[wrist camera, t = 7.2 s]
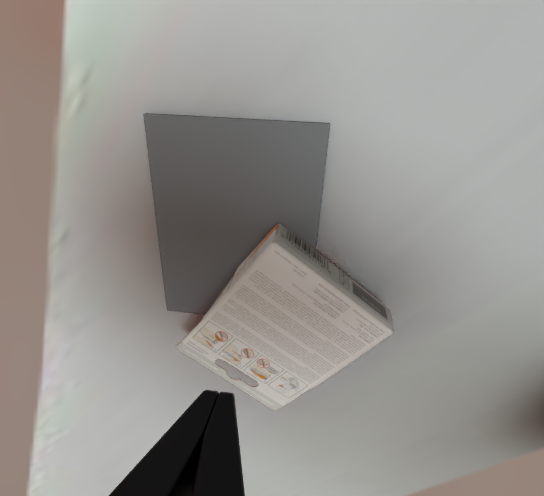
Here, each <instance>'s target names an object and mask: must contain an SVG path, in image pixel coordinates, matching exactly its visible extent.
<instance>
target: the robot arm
mask: <svg viewBox="0 0 544 496" xmlns="http://www.w3.org/2000/svg"><path fill="white" fill-rule="evenodd" d="M109 496H245V493H244V483H243V474H242V465H241V455H240V446H239V436H238V427H237V417H236V408H235V399H234V394H233V393H228V392H220V393H219V392H217V391H211V390H205V391H203V392H202V393H201V394H200V396H199V397H198V398H197V399H196V400H195V401H194V402H193V403H192V404H191V406H190V407H189V408H188V409H187V410H186V411H185V412H184V413H183V414H182V415H181V417H180V418H179V419H178V420H177V421H176V422H175V423H174V424H173V425H172V426H171V428H170V429H169V430H168V431H167V432H166V433H165V434H164V435H163V436H162V438H161V439H160V440H159V441H158V442H157V443H156V444H155V445H154V446H153V447H152V449H151V450H150V451H149V452H148V453H147V454H146V455H145V456H144V457H143V458H142V460H141V461H140V462H139V463H138V464H137V465H136V466H135V467H134V468H133V470H132V471H131V472H130V473H129V474H128V475H127V476H126V477H125V478H124V479H123V481H122V482H121V483H120V484H119V485H118V486H117V487H116V488H115V489H114V490H113V492H112V493H111V494H110V495H109Z"/></svg>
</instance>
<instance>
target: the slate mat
mask: <svg viewBox="0 0 544 496" xmlns="http://www.w3.org/2000/svg"><path fill="white" fill-rule="evenodd" d="M144 122H145V131H146V139H147V147H148V156H149V164H150V172H151V181H152V189H153V197H154V206H155V214H156V222H157V231H158V239H159V247H160V255H161V264H162V272H163V280H164V289H165V297H166V305H167V310H169V311H179V312H189V313H199V314H206V313H207V312H208V310H209V309H210V308H211V306H212V305H213V303H214V302H215V300H216V299H217V298H218V296H219V295H220V293H221V292H222V290H223V289H224V288H225V286H226V285H227V284H228V282H229V281H230V280H231V278H232V277H233V275H234V274H235V272H236V270H237V269H238V267H239V266H240V264H241V263H242V262H243V261H244V260H245V259H246V258H247V257H248V256H249V255H250V254H251V252H252V251H253V250H254V249H255V248H256V247H257V246H258V244H259V243H260V242H261V241H262V240H263V239H264V238H265V237H266V236H267V234H268V233H269V232H270V231H271V230H272V229H273V228H274V227H275V226H276V225H277V224H281V225H283V226H284V227H285V228H287V229H288V230H290V231H291V232H292V233H293V234H295V235H296V236H297V237H299V238H300V239H301V240H302V241H304V242H305V243H306V244H308V245H309V246H310V247H311V248H313V249H314V250H315V251H316V244H317V236H318V227H319V218H320V209H321V200H322V191H323V182H324V174H325V165H326V156H327V147H328V138H329V129H330V123H316V122H297V121H279V120H260V119H242V118H223V117H205V116H186V115H168V114H149V113H146V114H144Z"/></svg>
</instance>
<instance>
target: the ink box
mask: <svg viewBox="0 0 544 496" xmlns="http://www.w3.org/2000/svg"><path fill="white" fill-rule="evenodd" d="M393 331H394V328H393V321H392V316H391V313H390V311H389V309H388V308H387V307H386V306H385V305H384V304H383V303H381V302H380V301H379V300H378V299H376V298H375V297H374V296H373V295H371V294H370V293H369V292H368V291H366V290H365V289H364V288H363V287H361V286H360V285H359V284H358V283H356V282H355V281H354V280H352V279H351V278H350V277H348V276H347V275H346V274H345V273H343V272H342V271H341V270H340V269H338V268H337V267H336V266H335V265H333V264H332V263H331V262H329V261H328V260H327V259H326V258H324V257H323V256H322V255H320V254H319V253H318V252H317V251H315V250H314V249H313V248H311V247H310V246H309V245H308V244H306V243H305V242H304V241H302V240H301V239H300V238H299V237H297V236H296V235H295V234H293V233H292V232H291V231H290V230H288V229H287V228H285V227H284V226H283V225H281V224H277V225H276V226H275V227H274V228H273V229H272V230H271V231H270V232H269V233H268V234H267V236H266V237H265V238H264V239H263V240H262V241H261V242H260V243H259V244H258V246H257V247H256V248H255V249H254V250H253V251H252V252H251V254H250V255H249V256H248V257H247V258H246V259H245V260H244V261H243V262H242V263H241V264H240V266H239V267H238V269H237V270H236V272H235V274H234V275H233V277H232V278H231V280H230V281H229V282H228V284H227V285H226V286H225V288H224V289H223V290H222V292H221V293H220V295H219V296H218V298H217V299H216V300H215V302H214V303H213V305H212V306H211V308H210V309H209V310H208V312H207V313H206V314H205V316H204V317H203V319H202V320H201V321H200V322H199V324H198V325H197V326H195V327H194V328H193V329H192V331H191V332H190V333H189V334H188V335H187V336H186V337H185V338H184V339H183V340H182V341H181V342H180V343H179V344H177V345H176V348H177V349H178V350H179V351H181V352H182V353H184V354H185V355H187V356H189V357H190V358H192V359H193V360H195V361H197V362H198V363H200V364H201V365H203V366H204V367H206V368H208V369H209V370H211V371H212V372H214V373H215V374H217V375H218V376H220V377H222V378H223V379H225V380H226V381H228V382H229V383H231V384H233V385H234V386H236V387H237V388H239V389H240V390H242V391H244V392H245V393H247V394H248V395H250V396H252V397H253V398H255V399H256V400H258V401H259V402H261V403H262V404H263V405H265V406H267V407H269V408H270V409H272V410H273V411H277V410H278V409H280V408H282V407H283V406H285V405H287V404H288V403H290V402H291V401H293V400H294V399H296V398H297V397H298V396H300V395H302V394H303V393H305V392H306V391H308V390H311V389H312V388H314V387H315V386H317V385H319V384H320V383H322V382H323V381H325V380H326V379H328V378H329V377H330V376H332V375H333V374H335V373H336V372H338V371H339V370H341V369H342V368H344V367H345V366H347V365H348V364H350V363H351V362H353V361H354V360H355V359H357V358H358V357H360V356H361V355H363V354H364V353H366V352H367V351H368V350H370V349H371V348H373V347H374V346H376V345H377V344H378V343H380V342H381V341H383V340H384V339H386V338H387V337H388V336H390V335H391V334H392V333H393ZM217 359H221V360H224V361H225V362H227V363H229V364H230V365H232V366H233V367H235V368H236V369H238V370H240V371H241V372H243V373H245V374H246V375H247V376H249V377H251V378H252V379H254V380H255V381H257V383H258V385H257V386H254V387H253V386H250V385H248V384H246V383H245V382H244V381H242V380H241V379H239V380H236V379H232V378H230V377H229V376H228V374H227V371H226V370H225V369H223V368H222V367H220V366H218V365H217V364H216V363H215V361H216V360H217Z"/></svg>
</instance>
